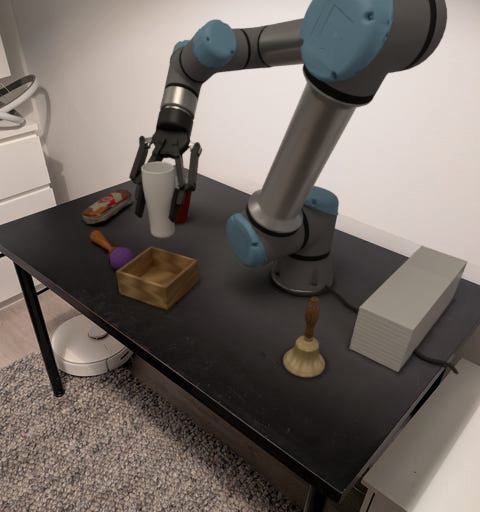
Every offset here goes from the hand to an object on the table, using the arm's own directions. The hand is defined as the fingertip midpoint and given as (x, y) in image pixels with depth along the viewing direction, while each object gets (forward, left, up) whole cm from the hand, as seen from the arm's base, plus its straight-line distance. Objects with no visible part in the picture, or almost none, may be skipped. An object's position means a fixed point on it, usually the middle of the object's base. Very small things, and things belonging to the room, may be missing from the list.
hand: (155, 217), depth 95 cm
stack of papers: (-53, -17, -19) cm, 59 cm away
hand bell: (-38, +6, -19) cm, 43 cm away
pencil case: (+37, -27, -19) cm, 49 cm away
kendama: (+20, -7, -19) cm, 28 cm away
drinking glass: (+1, -3, -6) cm, 7 cm away
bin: (+1, -1, -19) cm, 19 cm away
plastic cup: (+17, -34, -19) cm, 42 cm away
